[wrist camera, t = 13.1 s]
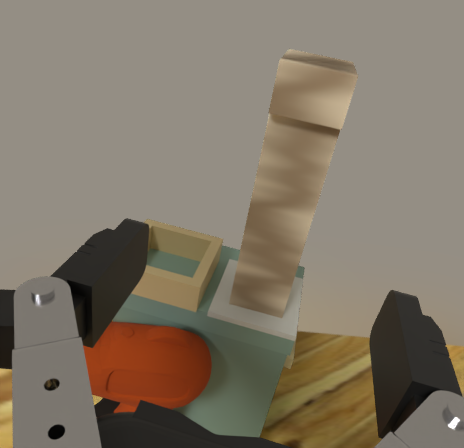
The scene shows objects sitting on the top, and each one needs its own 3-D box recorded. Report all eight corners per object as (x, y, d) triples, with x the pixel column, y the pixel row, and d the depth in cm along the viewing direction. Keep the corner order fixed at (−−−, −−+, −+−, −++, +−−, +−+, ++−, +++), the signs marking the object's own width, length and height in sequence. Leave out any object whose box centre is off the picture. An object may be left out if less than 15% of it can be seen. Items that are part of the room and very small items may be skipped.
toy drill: (-68, 415, 30) (-96, 263, 23) (181, 431, 35) (230, 308, 27) (-106, 487, 26) (-156, 332, 19) (181, 494, 31) (238, 372, 23)
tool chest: (99, 417, 33) (99, 259, 25) (139, 345, 40) (150, 204, 32) (260, 469, 32) (314, 320, 24) (273, 386, 39) (319, 248, 31)
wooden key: (226, 310, 26) (279, 60, 18) (241, 267, 30) (289, 48, 22) (280, 325, 25) (358, 76, 18) (287, 279, 29) (352, 62, 22)
